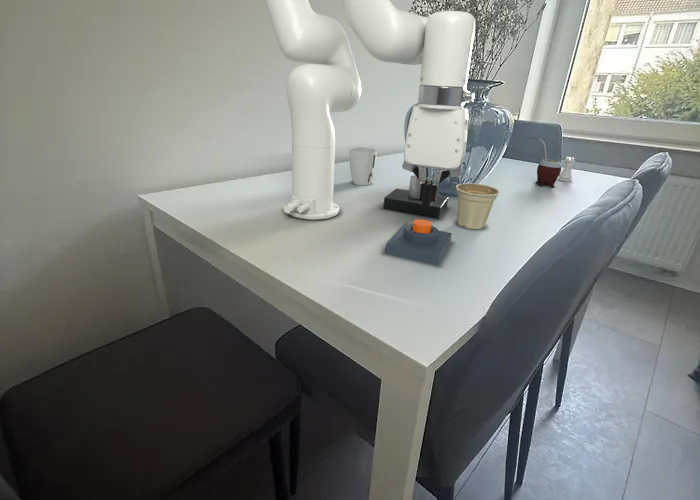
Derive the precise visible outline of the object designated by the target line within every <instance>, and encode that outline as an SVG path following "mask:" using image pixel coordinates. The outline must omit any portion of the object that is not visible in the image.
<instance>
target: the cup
mask: <svg viewBox="0 0 700 500" xmlns="http://www.w3.org/2000/svg"><path fill="white" fill-rule="evenodd" d="M377 155H378V150H377V149H375V148H371V147H362V146H361V147H360V146H359V147H357V146H355V147H351V148H349V168H350V176H351V180H352V183H353V185H357V186H368V185H370V183H371V181H372V178H373V176H374V171H375V167H376V162H377Z"/></svg>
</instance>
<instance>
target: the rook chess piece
mask: <svg viewBox="0 0 700 500" xmlns="http://www.w3.org/2000/svg"><path fill="white" fill-rule="evenodd" d="M575 159H576V158H575V157H571V156H566V158H565V159H564V161H565V163H564V166H563V169H562V170H561V172H560V175H559V176H558V178H557V180H558V181H559V182H565V183H570V182H571V181H572V178H573V174H572V171H573V167H574V163H575V162H576V160H575Z"/></svg>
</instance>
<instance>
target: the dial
mask: <svg viewBox="0 0 700 500" xmlns="http://www.w3.org/2000/svg"><path fill="white" fill-rule="evenodd" d="M408 186H409V188H408V190H409V194H408V196H409V197H410V198H412V199H418V200H421V199H419V196H420V188H421V183H420V182H419V179H418V178H417V177H416V175H415V174H413V175H411V176H410V178H409V185H408Z"/></svg>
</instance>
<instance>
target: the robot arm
mask: <svg viewBox="0 0 700 500" xmlns="http://www.w3.org/2000/svg"><path fill="white" fill-rule="evenodd" d="M264 2H265V6H266V9H267V13H268V16H269V19H270V22H271V25H272V28H273V31H274V34H275V37H276V40H277V44H278V47H279V49H280V52H281V53H282V55H283V56H284V58H286V59H287V60H289V61H290V62H291V61H292V62H295V63H303V64H301V65H298V66H296V67H295V68H294V69H293V70H291V72H290V74H288V77H287V80H286V87H285V88H286V89H285V90H286V97H287V101H288V103H287V104H288V107H289V113H290V123H291V124H290V125H291V178H292V179H291V194H292V195H291V200H290V201H288V203H286V204H285V205H284V206H283V207H282V208H283V212H284V213H286V214H288V215H289V216H291V217H294V218H297V219H302V220H313V221H314V220H326V219H331V218H333V217H336V216H337V215H338V214H339V213H340V206H339V205H338V204H337V203H335V202H334V184H335V183H334V182H335V160H336V159H335V158H336V157H335V156H336V131H335V126H334V123H333V121H332V118H331V115H330V113H342V112H343V113H344V112H349V111H350V110H353V109H354V108H355V107H356V106H357V104H358V103H359V101H360V100H361V99H360V98H361V94H362V84H361V79H360V75H359V72H358V68H357V65H356V61H355V58H354V54H353V51H352V48H351V44H350V41H349V38H348V36H347V33H346V31H345V29H344V27H343V25H342V24H340V22H339V21H338V20H336V18H333V17H331V16H328V15H326V14H320V13H317V12H315V11H314V10H313V8H312V6H311V4H310V1H309V0H264ZM342 5H343V12H344V16H345V18H346V20H347V23H348V25H349V27H350V28H351V30H352V31H353V33H354V35H355V36H356V37H357V39H358V41H359V42H360V44H361V46H363V47H364V49H365V50H366V51H367V53H368V54H369V55H370V56H372V57H373V58H374V59H376V60H378V61H380V62H383V63H392V64H401V65H409V66H417V65H419V66H420V65H421V68H420V78H419V79H420V80H419V87H418V96H417V104H416V105H413V108H412V111H411V113H410V117H409V122H408V127H407V131H406V136H405V142H404V149H403V162H402V166H401V167H402V169H403V170H405V171H408V172H411V173H413V175H416V177H417V178H418V179H419V182H420V183H421V188H420V196H419V199H421V200H422V203H421V205H422V206H425V205H427V206H428V207H430V206H431V205H432V204H433V202H436V200H437V195H439V187H440V184H441V183H442V182H444V181H445V180H446V179H447V178H457V177H461V176H462V175H463V174H464V170H463V169H464V168H463V163H464V160H465V156H466V149H467V142H468V141H467V139H468V128H469V109H468V108H464V105H465V104H466V103H469V102H474V99H475V93H474V92H470V91H469V90H467V83H468V79H469V78H468V77H469V71H470V65H471V58H472V52H473V51H472V50H473V44H474V37H475V30H476V19H475V16H474V15H473V14H472V13H470V12H467V11H460V10H441V11H436V12H433V13H432V14H431V15H429V16H422V15H418V14H415V13H413V12H410V11H405V10H402V9H397V7H396V6H394V4H393V3H392V2H391V0H342ZM430 168H432V169H435V170H434V174H433V177H432V180H431V178H430Z"/></svg>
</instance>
